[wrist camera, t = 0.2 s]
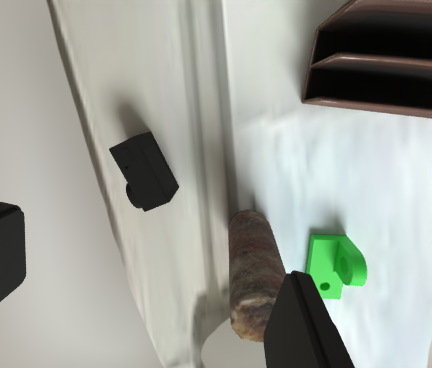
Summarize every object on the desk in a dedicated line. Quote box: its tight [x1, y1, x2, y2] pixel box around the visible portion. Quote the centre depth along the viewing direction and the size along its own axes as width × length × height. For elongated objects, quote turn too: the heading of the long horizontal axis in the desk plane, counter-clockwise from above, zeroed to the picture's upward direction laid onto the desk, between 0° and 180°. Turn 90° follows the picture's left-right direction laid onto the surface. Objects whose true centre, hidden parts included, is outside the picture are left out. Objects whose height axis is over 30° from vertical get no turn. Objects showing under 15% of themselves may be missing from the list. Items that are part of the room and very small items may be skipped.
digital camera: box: [109, 131, 179, 212], centre depth 38 cm, size 10×5×7 cm, turn 24°
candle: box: [228, 210, 286, 342], centre depth 34 cm, size 8×7×20 cm
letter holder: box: [302, 0, 432, 118], centre depth 28 cm, size 10×20×14 cm, turn 84°
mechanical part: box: [306, 234, 367, 299], centre depth 41 cm, size 12×6×8 cm, turn 0°
